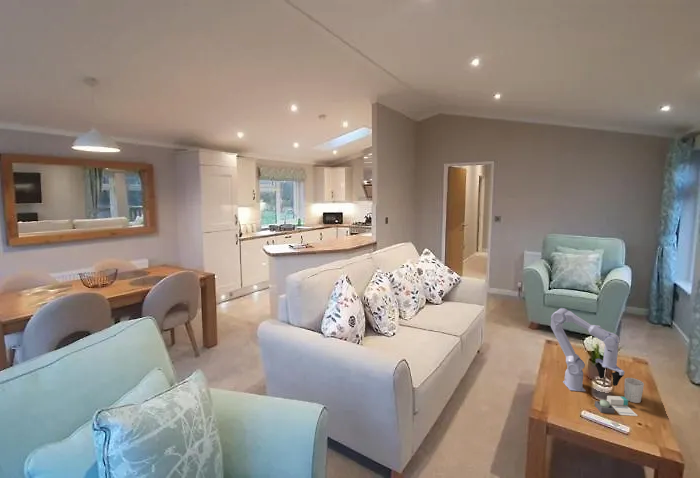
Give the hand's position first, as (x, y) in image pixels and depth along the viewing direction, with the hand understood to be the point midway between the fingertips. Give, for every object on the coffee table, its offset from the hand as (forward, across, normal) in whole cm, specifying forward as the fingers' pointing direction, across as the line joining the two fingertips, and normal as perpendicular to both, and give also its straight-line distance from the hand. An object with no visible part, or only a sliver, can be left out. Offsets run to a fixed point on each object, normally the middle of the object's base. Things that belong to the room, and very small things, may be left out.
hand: (608, 381), depth 188 cm
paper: (+10, +11, -2) cm, 14 cm away
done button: (+10, +8, -10) cm, 16 cm away
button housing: (+10, +8, -10) cm, 16 cm away
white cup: (+10, +4, +12) cm, 16 cm away
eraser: (+10, +5, 0) cm, 11 cm away
